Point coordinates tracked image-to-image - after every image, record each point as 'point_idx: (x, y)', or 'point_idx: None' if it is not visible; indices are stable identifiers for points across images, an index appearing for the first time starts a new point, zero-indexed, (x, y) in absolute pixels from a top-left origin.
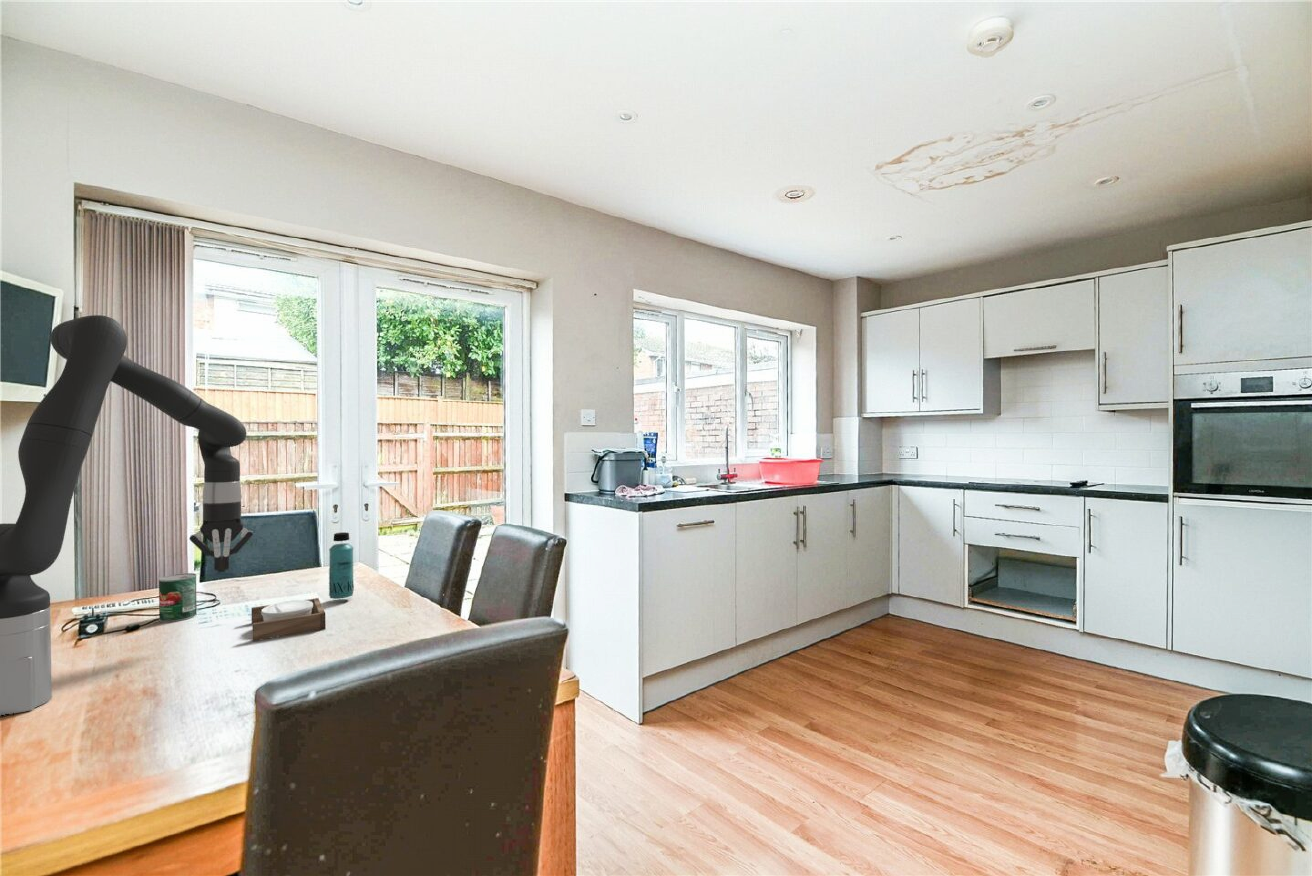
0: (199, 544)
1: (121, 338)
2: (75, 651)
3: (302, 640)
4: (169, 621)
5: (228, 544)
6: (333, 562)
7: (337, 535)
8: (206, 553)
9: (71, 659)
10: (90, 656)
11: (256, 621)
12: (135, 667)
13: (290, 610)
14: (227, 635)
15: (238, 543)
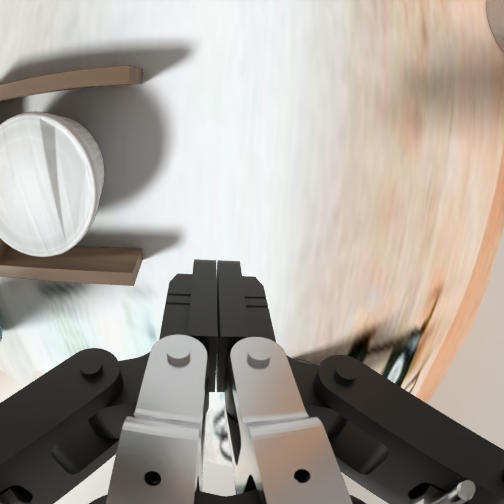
0: (447, 441)
1: None
2: (447, 262)
3: (41, 17)
4: (304, 361)
5: (139, 443)
6: None
7: None
8: (357, 372)
9: (462, 216)
10: (443, 212)
11: (128, 250)
12: (400, 57)
13: (19, 128)
14: (199, 178)
15: (39, 434)
